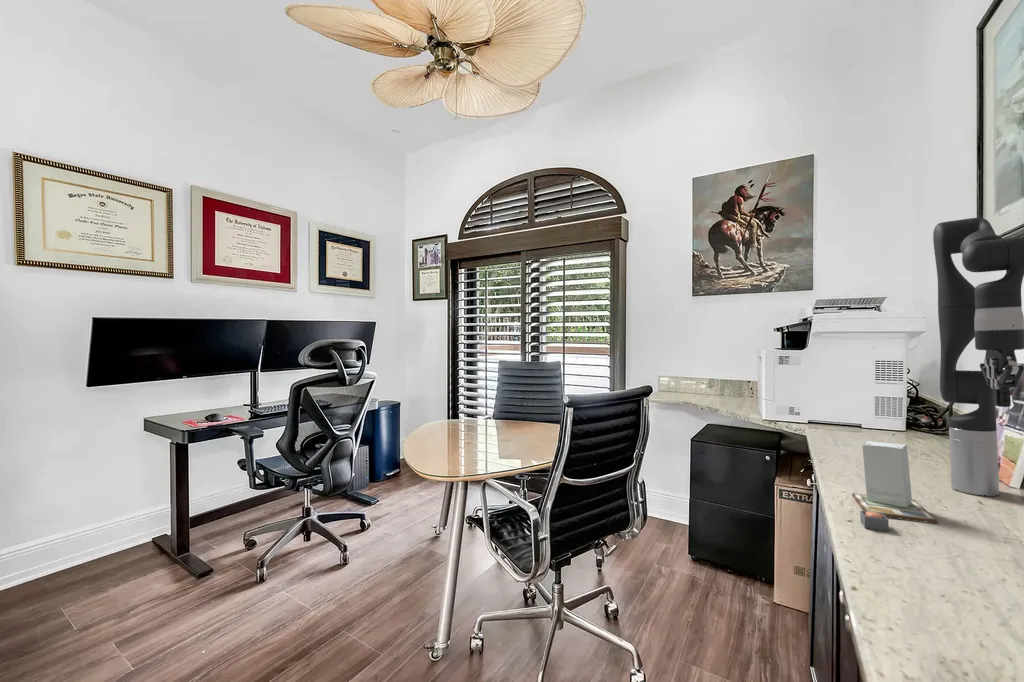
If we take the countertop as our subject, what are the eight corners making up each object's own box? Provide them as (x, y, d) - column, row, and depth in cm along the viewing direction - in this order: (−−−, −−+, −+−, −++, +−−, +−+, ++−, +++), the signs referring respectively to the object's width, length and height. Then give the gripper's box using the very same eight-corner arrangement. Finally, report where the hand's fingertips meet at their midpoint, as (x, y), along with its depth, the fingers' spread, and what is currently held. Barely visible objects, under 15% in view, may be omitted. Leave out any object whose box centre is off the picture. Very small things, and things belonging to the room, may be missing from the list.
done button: (864, 517, 103) (863, 510, 103) (880, 519, 102) (880, 512, 102) (867, 522, 101) (867, 515, 101) (884, 524, 99) (884, 517, 99)
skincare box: (912, 503, 112) (910, 444, 112) (906, 509, 108) (904, 448, 109) (870, 495, 119) (868, 439, 119) (864, 500, 115) (861, 442, 115)
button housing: (860, 521, 104) (860, 510, 104) (883, 524, 102) (882, 513, 102) (865, 528, 100) (864, 516, 100) (888, 531, 98) (888, 519, 98)
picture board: (852, 496, 121) (852, 492, 121) (914, 502, 115) (914, 499, 115) (866, 515, 108) (865, 511, 108) (937, 523, 102) (936, 519, 102)
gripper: (1040, 326, 92) (1044, 411, 91) (1006, 328, 103) (1009, 403, 103) (990, 328, 95) (993, 409, 95) (962, 330, 107) (965, 402, 106)
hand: (1002, 406), depth 99 cm, fingers closed
